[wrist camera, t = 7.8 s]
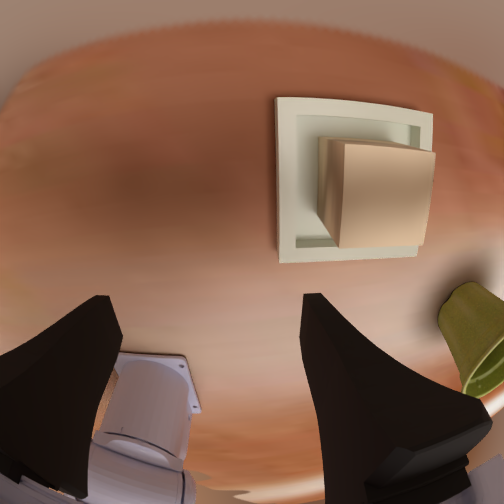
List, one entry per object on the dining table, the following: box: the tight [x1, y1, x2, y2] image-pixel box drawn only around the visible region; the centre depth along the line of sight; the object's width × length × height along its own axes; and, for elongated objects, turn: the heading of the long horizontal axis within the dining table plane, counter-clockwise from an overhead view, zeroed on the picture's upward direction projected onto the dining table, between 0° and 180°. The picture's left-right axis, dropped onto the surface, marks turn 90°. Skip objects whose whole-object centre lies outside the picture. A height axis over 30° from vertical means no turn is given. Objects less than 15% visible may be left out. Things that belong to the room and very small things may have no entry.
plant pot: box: [438, 282, 504, 398], centre depth 19 cm, size 9×9×9 cm
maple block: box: [317, 136, 436, 249], centre depth 15 cm, size 5×5×5 cm
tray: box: [274, 97, 433, 263], centre depth 17 cm, size 10×10×2 cm
